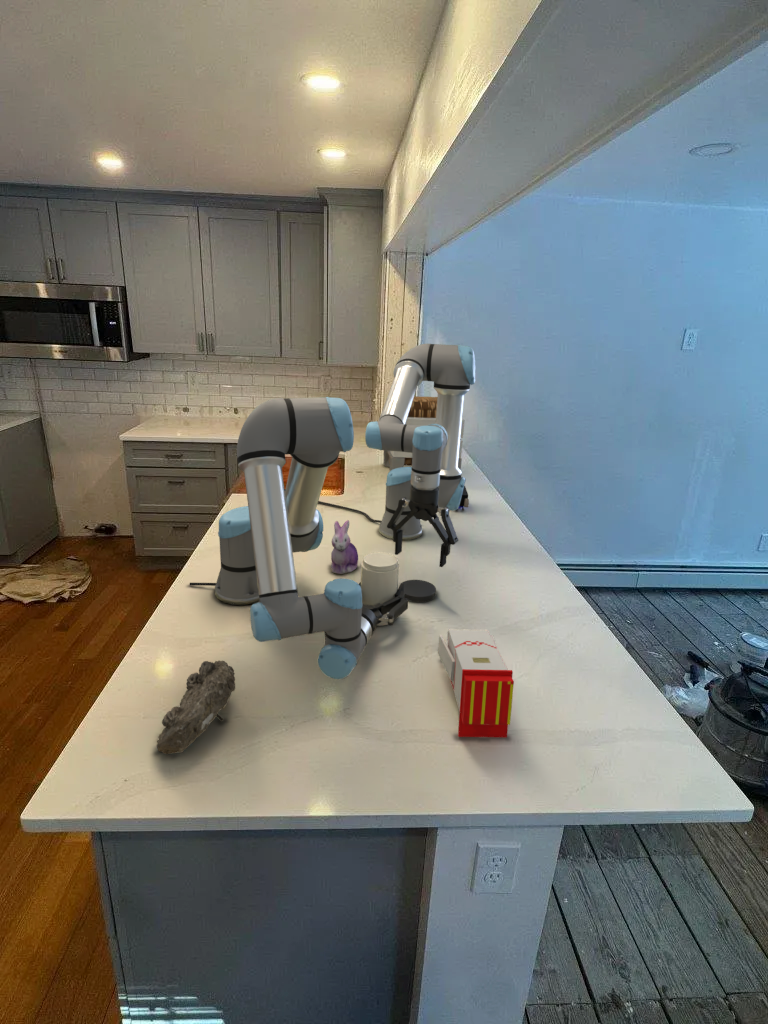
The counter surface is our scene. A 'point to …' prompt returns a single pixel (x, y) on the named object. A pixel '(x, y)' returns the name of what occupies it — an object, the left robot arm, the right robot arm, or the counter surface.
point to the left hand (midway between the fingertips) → (383, 584)
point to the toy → (478, 682)
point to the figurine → (343, 550)
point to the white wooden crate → (421, 416)
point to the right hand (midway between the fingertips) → (420, 559)
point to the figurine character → (464, 499)
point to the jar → (379, 578)
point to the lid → (419, 590)
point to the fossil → (197, 706)
